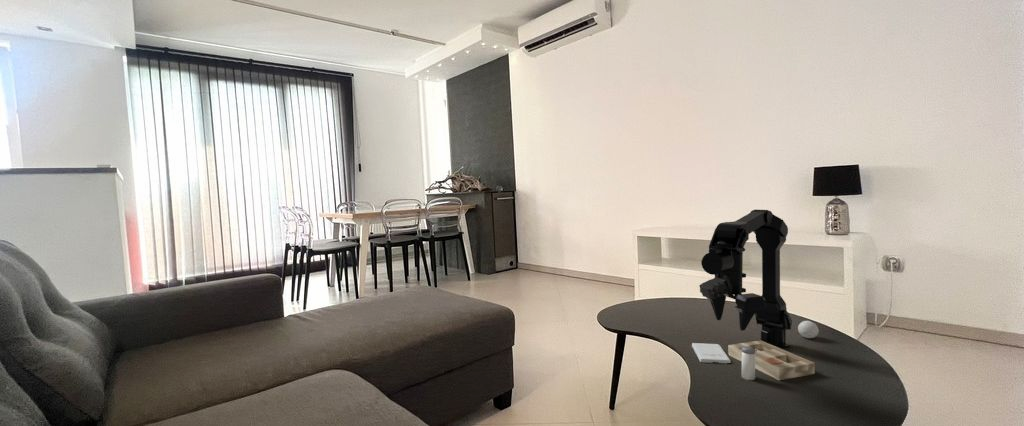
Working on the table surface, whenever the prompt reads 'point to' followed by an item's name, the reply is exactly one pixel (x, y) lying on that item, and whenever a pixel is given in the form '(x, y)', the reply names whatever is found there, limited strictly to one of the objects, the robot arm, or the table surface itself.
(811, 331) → the white egg
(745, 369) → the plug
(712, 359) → the external hard drive
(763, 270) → the robot arm
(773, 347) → the socket block
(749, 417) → the table surface
